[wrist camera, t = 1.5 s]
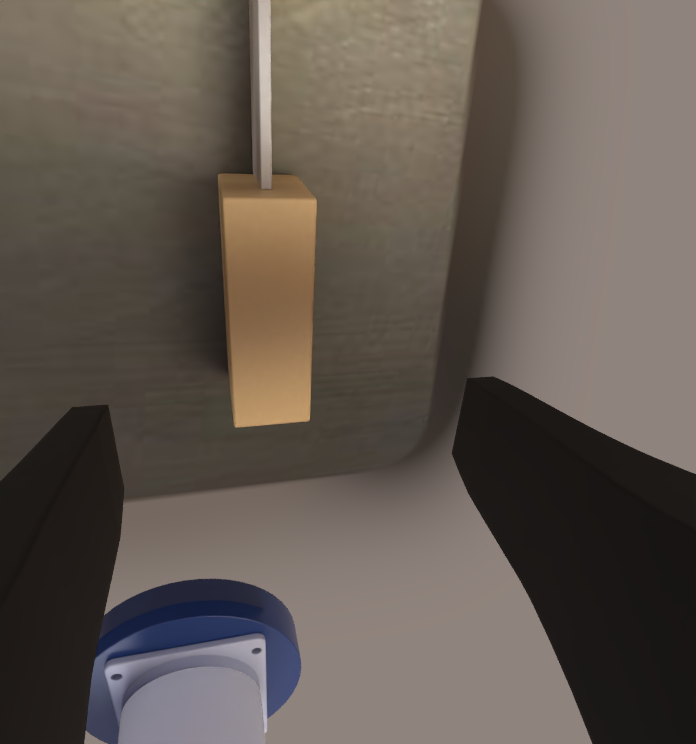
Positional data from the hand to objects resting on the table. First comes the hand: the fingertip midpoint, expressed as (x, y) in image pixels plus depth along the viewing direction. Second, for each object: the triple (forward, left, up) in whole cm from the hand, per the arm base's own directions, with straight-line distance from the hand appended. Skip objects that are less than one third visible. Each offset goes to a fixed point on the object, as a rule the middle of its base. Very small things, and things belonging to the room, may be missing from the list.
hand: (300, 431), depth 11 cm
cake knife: (+6, 0, -9) cm, 10 cm away
